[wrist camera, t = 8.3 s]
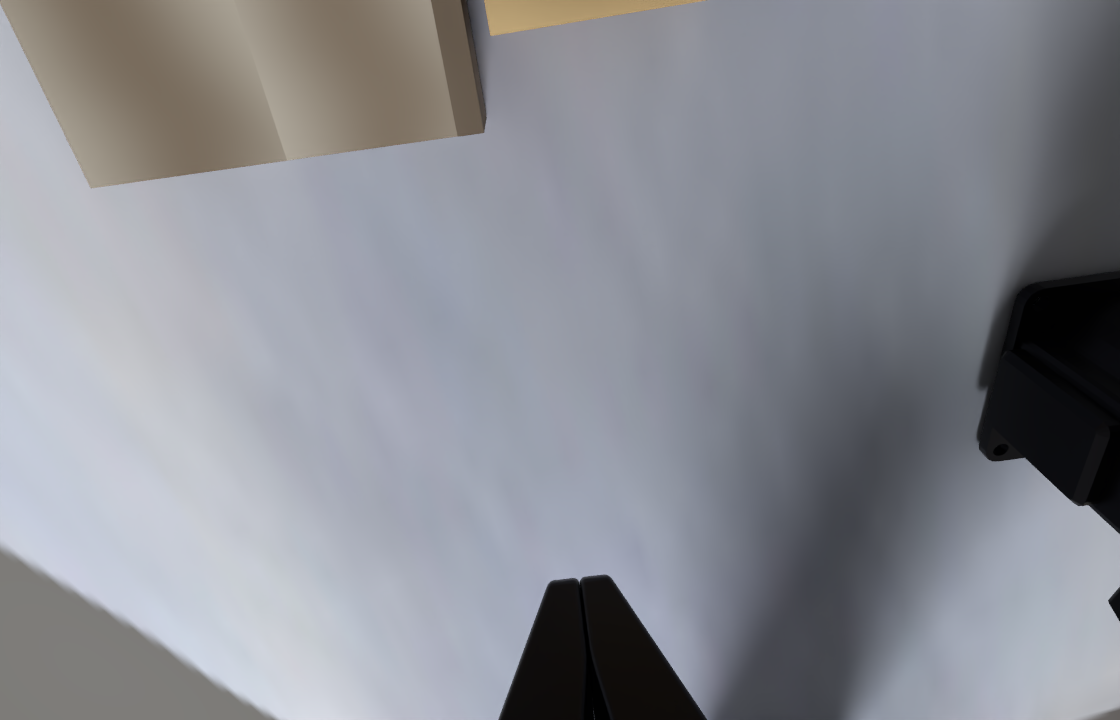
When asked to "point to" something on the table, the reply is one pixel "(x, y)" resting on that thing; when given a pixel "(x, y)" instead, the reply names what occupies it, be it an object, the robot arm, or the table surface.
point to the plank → (560, 12)
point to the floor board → (247, 79)
